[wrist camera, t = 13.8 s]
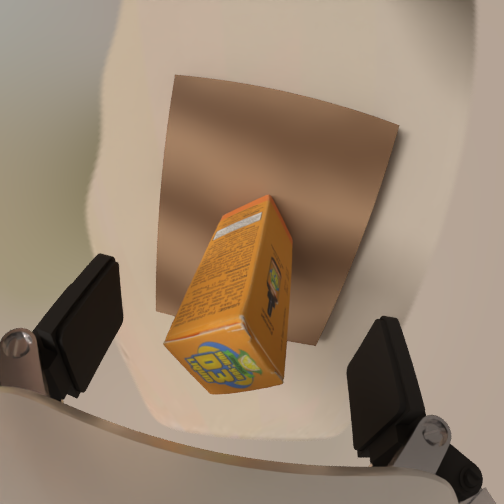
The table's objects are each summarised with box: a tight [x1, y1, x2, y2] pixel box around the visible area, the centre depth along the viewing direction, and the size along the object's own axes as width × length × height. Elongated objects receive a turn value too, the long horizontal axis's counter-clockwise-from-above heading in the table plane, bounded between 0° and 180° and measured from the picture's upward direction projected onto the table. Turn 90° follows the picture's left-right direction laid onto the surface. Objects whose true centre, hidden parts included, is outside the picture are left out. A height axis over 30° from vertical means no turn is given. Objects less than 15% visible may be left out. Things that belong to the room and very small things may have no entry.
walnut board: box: [156, 75, 399, 346], centre depth 19 cm, size 16×12×1 cm
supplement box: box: [163, 194, 293, 394], centre depth 14 cm, size 3×3×10 cm
